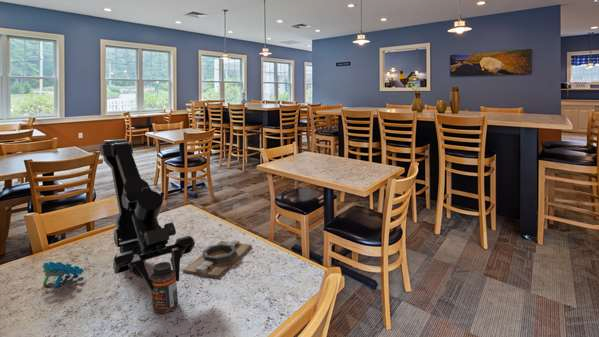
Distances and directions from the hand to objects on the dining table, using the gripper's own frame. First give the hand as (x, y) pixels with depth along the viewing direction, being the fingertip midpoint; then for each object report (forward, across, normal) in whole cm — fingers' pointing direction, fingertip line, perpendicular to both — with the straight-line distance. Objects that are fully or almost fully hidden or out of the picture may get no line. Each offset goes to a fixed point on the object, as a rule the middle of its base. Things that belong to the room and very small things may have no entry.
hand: (165, 285), depth 82 cm
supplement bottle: (+4, 0, +6) cm, 7 cm away
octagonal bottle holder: (-7, +22, +17) cm, 29 cm away
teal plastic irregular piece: (-19, -19, +28) cm, 39 cm away
